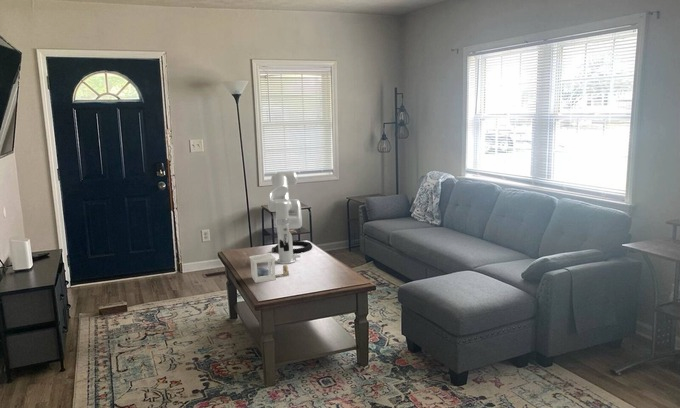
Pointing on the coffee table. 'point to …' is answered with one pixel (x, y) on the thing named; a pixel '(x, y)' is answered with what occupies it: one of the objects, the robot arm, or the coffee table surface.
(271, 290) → the coffee table surface
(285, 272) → the block
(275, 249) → the cable lock
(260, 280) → the white open frame box
